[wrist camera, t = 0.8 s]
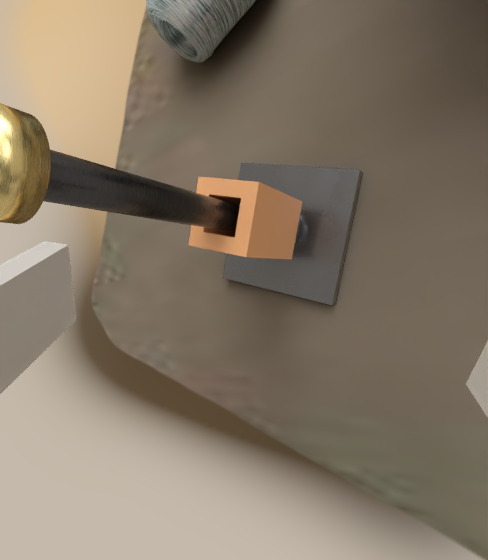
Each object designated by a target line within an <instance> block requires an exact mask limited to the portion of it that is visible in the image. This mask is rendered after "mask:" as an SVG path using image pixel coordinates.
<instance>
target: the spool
mask: <svg viewBox="0 0 488 560" xmlns="http://www.w3.org/2000/svg"><path fill="white" fill-rule="evenodd" d="M255 1H256V0H146V11H147V14H148V17H149V20H150V22H151V23H152V25H153V27H154V28H155V30H156V31H157V32H158V34H159V35H160V36H161V38H162V39H163V40H164V41H165V42H166V43H167V44H168V45H169V46H170V47H171V48H172V49H173V50H175V51H176V52H177V53H178V54H179V55H181V56H182V57H184V58H186V59H188V60H191V61H194V62H203V61H205V60H206V59H207V58H209V57H210V56H211V55H212V54H213V51H214V50H215V48H216V47H217V46H218V45H219V43H220V42H221V41H222V40H223V38H224V37H225V36H226V35H227V34H228V33H229V31H230V30H231V29H232V28H233V27H234V26H235V24H236V23H237V22H238V21H239V19H240V18H241V17H242V16H243V15H244V14H245V13H246V12H247V11H248V9H249V8H250V7H251V6H252V5H253V4H254V2H255Z"/></svg>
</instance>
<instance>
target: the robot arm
mask: <svg viewBox="0 0 488 560" xmlns="http://www.w3.org/2000/svg"><path fill="white" fill-rule="evenodd" d="M75 321H76V311H75V303H74V293H73V284H72V276H71V266H70V257H69V248H68V245H66V244H59V243H52V242H46V241H44V242H42V243H40V244H38V245H36V246H35V247H33V248H31V249H29V250H27V251H25V252H23V253H22V254H19V255H18V256H16V257H14V258H12V259H10V260H8V261H6V262H4V263H2V264H0V394H1V393H2V392H3V391H4V390H5V389H6V388H7V387H8V386H9V385H10V384H11V383H12V382H13V381H14V380H15V379H16V378H17V377H18V376H19V375H20V374H21V373H22V372H23V371H24V370H25V369H26V368H28V367H29V366H30V364H31V363H32V362H34V361H35V360H36V359H37V358H38V357H39V356H40V355H41V354H42V353H43V352H44V351H45V350H46V349H47V348H48V347H49V346H50V345H51V344H52V343H53V342H54V341H55V340H56V339H57V338H58V337H59V336H60V335H61V334H62V333H63V332H64V331H65V330H66V329H67V328H69V327H70V326H71V325H72V324H73V322H75ZM466 385H467V387H468V388H469V390H470V391H471V393H472V394H473V396H474V397H475V399H476V400H477V402H478V403H479V405H480V407H481V408H482V410H483V411H484V413H485V414H486V416H487V417H488V341H487V343H486V345H485V347H484V349H483V351H482V353H481V355H480V357H479V359H478V361H477V363H476V365H475V367H474V369H473V371H472V373H471V375H470V377H469V379H468V381H467V383H466Z"/></svg>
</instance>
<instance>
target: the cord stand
mask: <svg viewBox="0 0 488 560" xmlns="http://www.w3.org/2000/svg"><path fill="white" fill-rule="evenodd" d="M362 174H363V173H362V172H361V171H360V170H354V169H337V168H320V167H303V166H286V165H269V164H252V163H241V168H240V174H239V180H243V181H254V182H260V183H263V184H265V185H267V186H269V187H271V188H274V189H276V190H278V191H280V192H283V193H285V194H287V195H289V196H291V197H294V198H296V199H298V200H300V201H302V207H301V212H300V218H299V223H298V229H297V234H296V239H295V245H294V250H293V255H292V259H271V258H251V257H243V256H238V255H233V254H228V253H227V254H226V260H225V266H224V273H223V278H225V279H229V280H233V281H237V282H241V283H245V284H249V285H253V286H257V287H261V288H265V289H269V290H273V291H277V292H281V293H285V294H289V295H293V296H297V297H301V298H305V299H309V300H313V301H317V302H321V303H325V304H329V305H335V304H336V300H337V295H338V290H339V286H340V281H341V276H342V271H343V266H344V261H345V256H346V252H347V247H348V242H349V237H350V232H351V227H352V223H353V218H354V213H355V208H356V203H357V198H358V194H359V189H360V184H361V179H362ZM43 201H46V202H52V203H58V204H64V205H70V206H76V207H83V208H89V209H95V210H101V211H107V212H113V213H119V214H126V215H132V216H138V217H144V218H150V219H156V220H162V221H168V222H175V223H181V224H187V225H193V226H199V227H205V228H211V229H217V230H224V231H230V232H236V227H237V221H238V214H239V208H240V206H239V205H236V204H233V203H229V202H226V201H222V200H219V199H216V198H212V197H209V196H205V195H202V194H199V193H195V192H192V191H188V190H185V189H182V188H178V187H175V186H171V185H168V184H165V183H161V182H158V181H155V180H151V179H148V178H144V177H141V176H138V175H134V174H131V173H127V172H124V171H121V170H117V169H114V168H110V167H107V166H104V165H100V164H97V163H93V162H90V161H87V160H83V159H79V158H77V157H73V156H70V155H66V154H63V153H60V152H56V151H53V150H50V149H49V143H48V139H47V136H46V133H45V131H44V129H43V127H42V125H41V124H40V122H39V121H38V120H37V119H36V118H35V117H34V116H33V115H31V114H28V113H25V112H23V111H20V110H17V109H15V108H12V107H9V106H6V105H4V104H1V103H0V222H3V223H13V224H22V223H25V222H27V221H28V220H30V219H31V218H32V217H33V216H34V215H35V214H36V213H37V211H38V210H39V208H40V206H41V204H42V202H43Z"/></svg>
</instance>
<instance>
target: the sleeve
mask: <svg viewBox="0 0 488 560" xmlns="http://www.w3.org/2000/svg"><path fill="white" fill-rule="evenodd" d="M196 193H199V194H202V195H205V196H209V197H212V198H216V199H219V200H222V201H226V202H229V203H233V204H236V205H239V206H240V208H239V214H238V221H237V227H236V232H230V231H224V230H217V229H211V228H205V227H199V226H193V225H192V226H191V232H190V239H189V245H190V246H195V247H200V248H204V249H209V250H214V251H219V252H223V253H228V254H233V255H238V256H243V257H251V258H271V259H292V255H293V250H294V245H295V239H296V234H297V229H298V223H299V218H300V212H301V207H302V201H300V200H298V199H296V198H294V197H291V196H289V195H287V194H285V193H283V192H280V191H278V190H276V189H274V188H271V187H269V186H267V185H265V184H263V183H260V182H254V181H243V180H231V179H220V178H208V177H199V178H198V185H197V192H196Z"/></svg>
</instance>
